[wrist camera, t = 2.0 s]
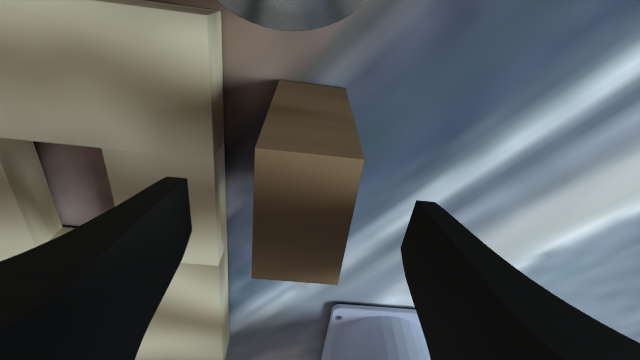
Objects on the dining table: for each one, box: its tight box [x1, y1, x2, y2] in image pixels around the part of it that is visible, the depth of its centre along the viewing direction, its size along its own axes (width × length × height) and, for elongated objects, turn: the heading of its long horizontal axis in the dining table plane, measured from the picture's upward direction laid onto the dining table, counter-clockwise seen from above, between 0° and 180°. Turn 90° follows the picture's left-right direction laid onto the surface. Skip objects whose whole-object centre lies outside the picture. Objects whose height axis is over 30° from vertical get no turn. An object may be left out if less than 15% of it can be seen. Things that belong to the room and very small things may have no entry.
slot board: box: [0, 0, 230, 360], centre depth 18 cm, size 22×14×2 cm, turn 173°
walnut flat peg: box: [252, 80, 365, 285], centre depth 13 cm, size 5×3×7 cm, turn 173°
